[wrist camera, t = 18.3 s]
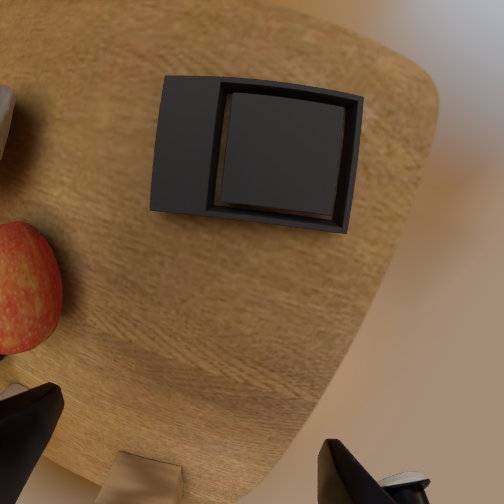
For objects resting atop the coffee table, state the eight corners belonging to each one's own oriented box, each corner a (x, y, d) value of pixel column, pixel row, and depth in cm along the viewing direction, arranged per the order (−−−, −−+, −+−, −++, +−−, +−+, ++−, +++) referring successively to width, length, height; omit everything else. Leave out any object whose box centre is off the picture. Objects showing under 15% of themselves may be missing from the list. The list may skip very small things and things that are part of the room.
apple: (16, 310, 21) (-45, 352, 13) (4, 211, 19) (-71, 232, 11) (88, 328, 21) (28, 389, 13) (79, 214, 18) (-5, 241, 11)
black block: (334, 115, 16) (344, 107, 14) (323, 210, 18) (331, 216, 15) (236, 102, 16) (232, 91, 14) (226, 198, 18) (219, 202, 15)
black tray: (351, 105, 16) (364, 96, 14) (336, 225, 18) (346, 234, 16) (177, 86, 16) (164, 75, 14) (163, 205, 18) (149, 210, 16)
